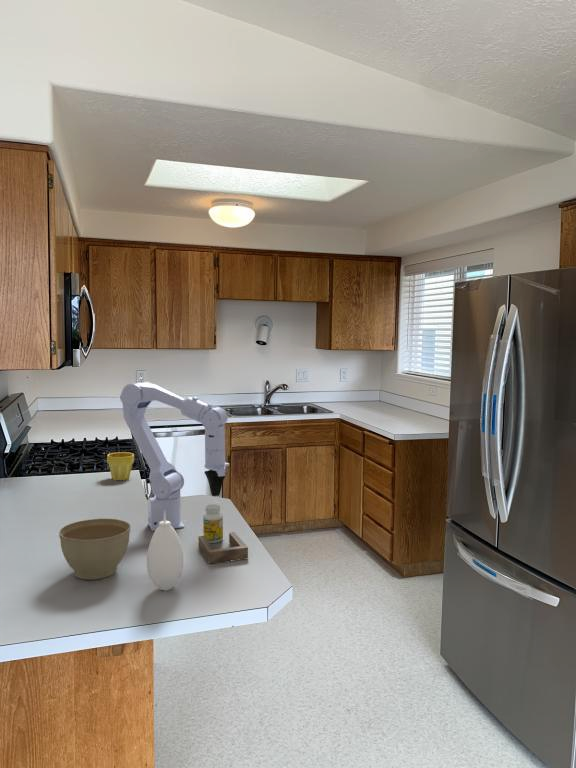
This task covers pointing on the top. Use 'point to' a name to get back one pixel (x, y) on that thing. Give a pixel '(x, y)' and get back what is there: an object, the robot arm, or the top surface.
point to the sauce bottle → (165, 556)
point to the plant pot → (120, 465)
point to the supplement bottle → (213, 524)
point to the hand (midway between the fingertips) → (215, 495)
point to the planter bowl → (94, 546)
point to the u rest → (224, 550)
